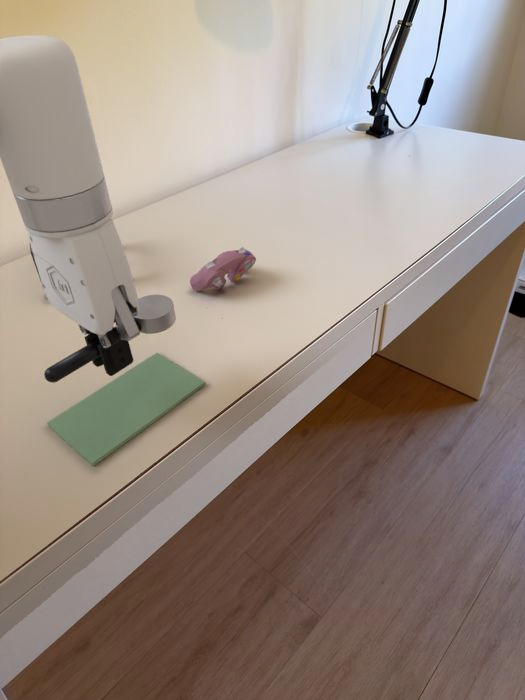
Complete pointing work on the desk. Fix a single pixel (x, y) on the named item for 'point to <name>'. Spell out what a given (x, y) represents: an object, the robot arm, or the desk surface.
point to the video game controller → (223, 269)
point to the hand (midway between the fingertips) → (113, 363)
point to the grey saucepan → (150, 319)
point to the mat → (124, 407)
